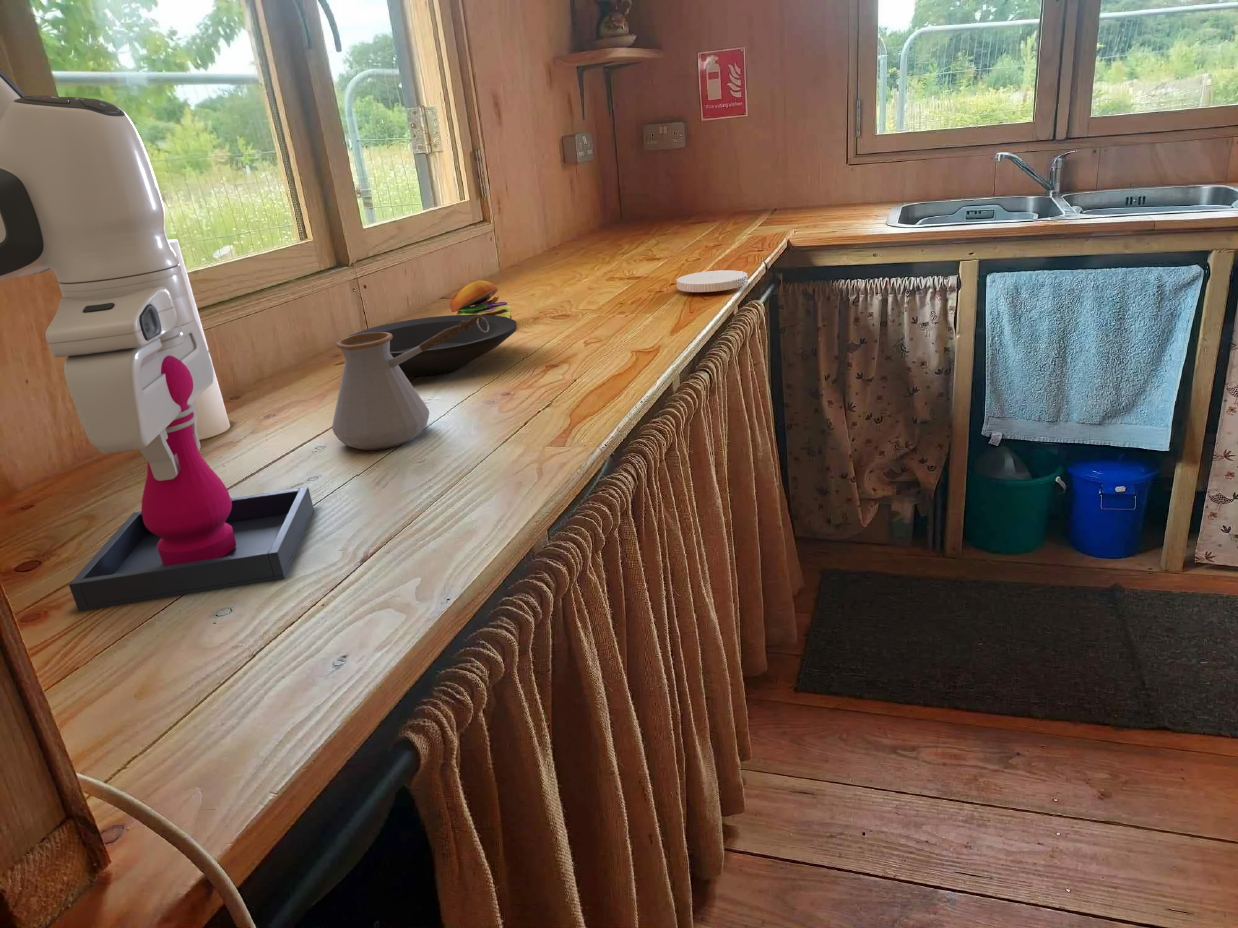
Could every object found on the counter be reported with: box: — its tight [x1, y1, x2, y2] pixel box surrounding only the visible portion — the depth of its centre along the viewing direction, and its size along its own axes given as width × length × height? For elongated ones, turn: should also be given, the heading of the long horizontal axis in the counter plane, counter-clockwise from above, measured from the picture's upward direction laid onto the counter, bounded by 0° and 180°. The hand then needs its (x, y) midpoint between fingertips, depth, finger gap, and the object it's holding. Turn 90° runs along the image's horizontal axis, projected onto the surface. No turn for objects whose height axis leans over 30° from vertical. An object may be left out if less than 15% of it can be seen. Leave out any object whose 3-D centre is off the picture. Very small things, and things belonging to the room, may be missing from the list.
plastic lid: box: [675, 269, 748, 293], centre depth 173 cm, size 14×14×2 cm
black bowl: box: [345, 314, 518, 377], centre depth 137 cm, size 28×24×6 cm
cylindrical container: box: [168, 239, 231, 441], centre depth 112 cm, size 7×7×25 cm
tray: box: [68, 486, 315, 612], centre depth 79 cm, size 17×15×3 cm
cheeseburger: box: [449, 279, 513, 319], centre depth 159 cm, size 10×11×10 cm
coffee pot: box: [331, 315, 489, 451], centre depth 102 cm, size 21×12×15 cm, turn 76°
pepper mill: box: [140, 356, 236, 566], centre depth 76 cm, size 7×7×20 cm
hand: (179, 465), depth 76 cm, fingers closed on pepper mill, 4 cm apart
